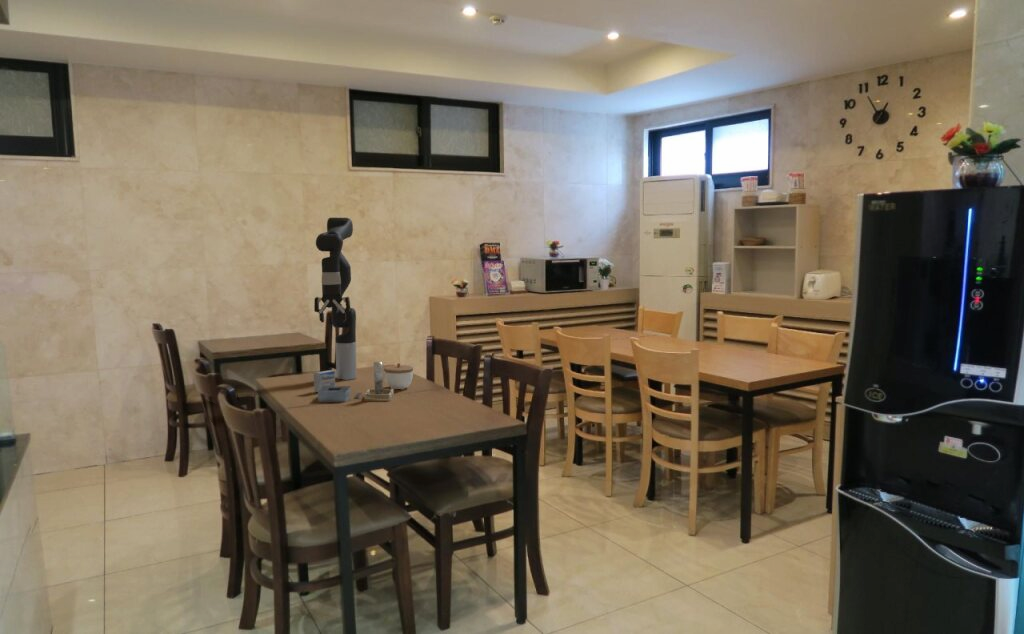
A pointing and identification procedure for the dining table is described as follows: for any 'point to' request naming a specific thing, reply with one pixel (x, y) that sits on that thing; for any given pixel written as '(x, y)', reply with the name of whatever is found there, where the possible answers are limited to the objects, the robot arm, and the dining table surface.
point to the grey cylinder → (378, 377)
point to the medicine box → (323, 379)
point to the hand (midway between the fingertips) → (333, 322)
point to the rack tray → (379, 395)
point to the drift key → (358, 395)
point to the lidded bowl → (398, 376)
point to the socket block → (334, 394)
